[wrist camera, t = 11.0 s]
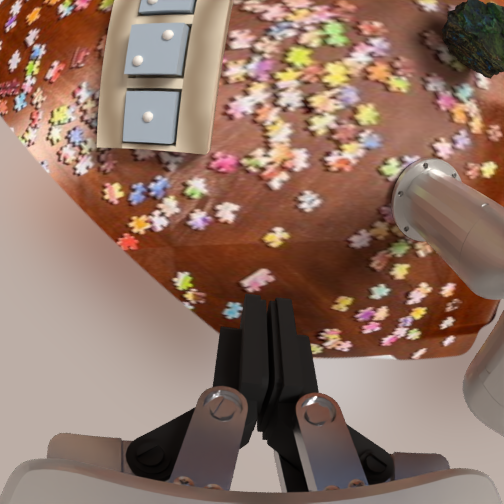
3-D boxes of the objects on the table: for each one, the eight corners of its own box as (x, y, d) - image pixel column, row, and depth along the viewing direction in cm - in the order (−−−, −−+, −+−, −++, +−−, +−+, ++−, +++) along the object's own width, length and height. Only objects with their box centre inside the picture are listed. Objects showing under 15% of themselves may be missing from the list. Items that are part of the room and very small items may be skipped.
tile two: (189, 27, 26) (183, 22, 24) (181, 75, 29) (175, 73, 27) (139, 28, 26) (130, 24, 23) (132, 75, 29) (123, 73, 26)
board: (238, -25, 25) (236, -35, 22) (210, 149, 36) (206, 154, 33) (132, -22, 24) (122, -30, 21) (108, 142, 35) (96, 147, 32)
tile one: (181, 92, 31) (176, 91, 29) (176, 140, 34) (170, 144, 31) (134, 91, 31) (125, 91, 28) (130, 138, 33) (122, 141, 31)
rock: (464, -15, 21) (503, -27, 12) (505, 40, 24) (546, 39, 16) (423, 25, 26) (464, 14, 18) (469, 84, 30) (514, 89, 21)
